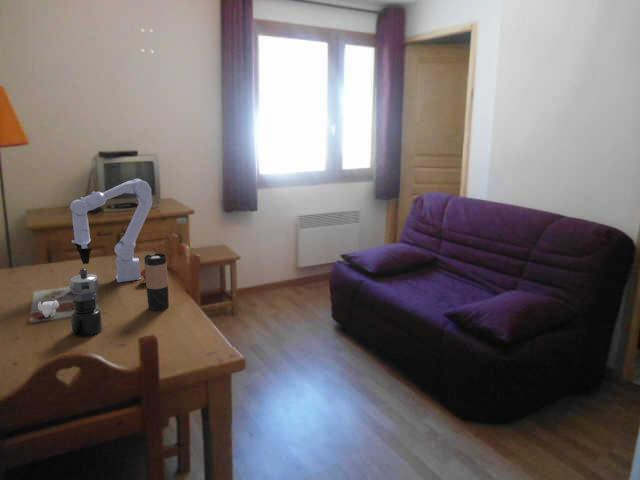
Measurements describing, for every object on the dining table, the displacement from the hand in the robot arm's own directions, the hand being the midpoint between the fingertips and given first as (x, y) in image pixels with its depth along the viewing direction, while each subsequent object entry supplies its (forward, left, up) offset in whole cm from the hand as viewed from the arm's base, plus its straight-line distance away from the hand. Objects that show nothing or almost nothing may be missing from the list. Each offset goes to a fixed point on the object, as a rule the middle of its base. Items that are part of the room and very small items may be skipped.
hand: (84, 261), depth 208 cm
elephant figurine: (+14, +30, -11) cm, 35 cm away
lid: (+1, +8, -6) cm, 10 cm away
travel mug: (-22, +39, -11) cm, 46 cm away
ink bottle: (+3, +50, -11) cm, 51 cm away
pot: (+1, +6, -10) cm, 12 cm away
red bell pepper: (-24, +9, -11) cm, 27 cm away
